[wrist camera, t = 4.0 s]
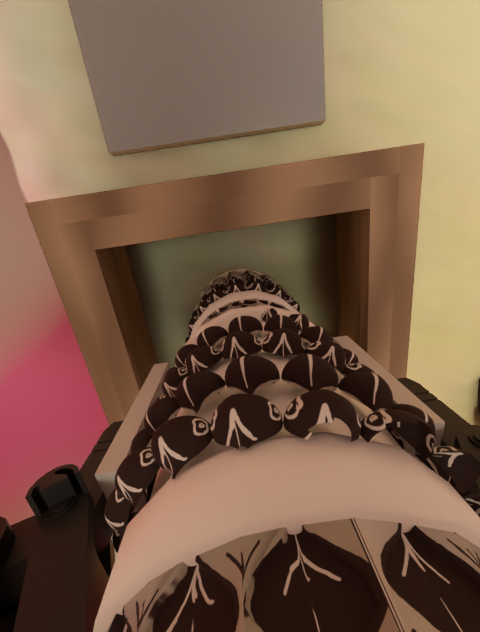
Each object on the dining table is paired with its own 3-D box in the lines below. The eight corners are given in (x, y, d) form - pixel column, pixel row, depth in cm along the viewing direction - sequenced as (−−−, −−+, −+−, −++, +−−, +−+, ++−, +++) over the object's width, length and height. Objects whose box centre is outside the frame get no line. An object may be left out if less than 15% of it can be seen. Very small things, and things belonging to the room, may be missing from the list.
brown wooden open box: (350, 175, 21) (424, 142, 13) (351, 389, 27) (400, 452, 20) (100, 213, 21) (24, 203, 13) (161, 417, 27) (134, 492, 20)
